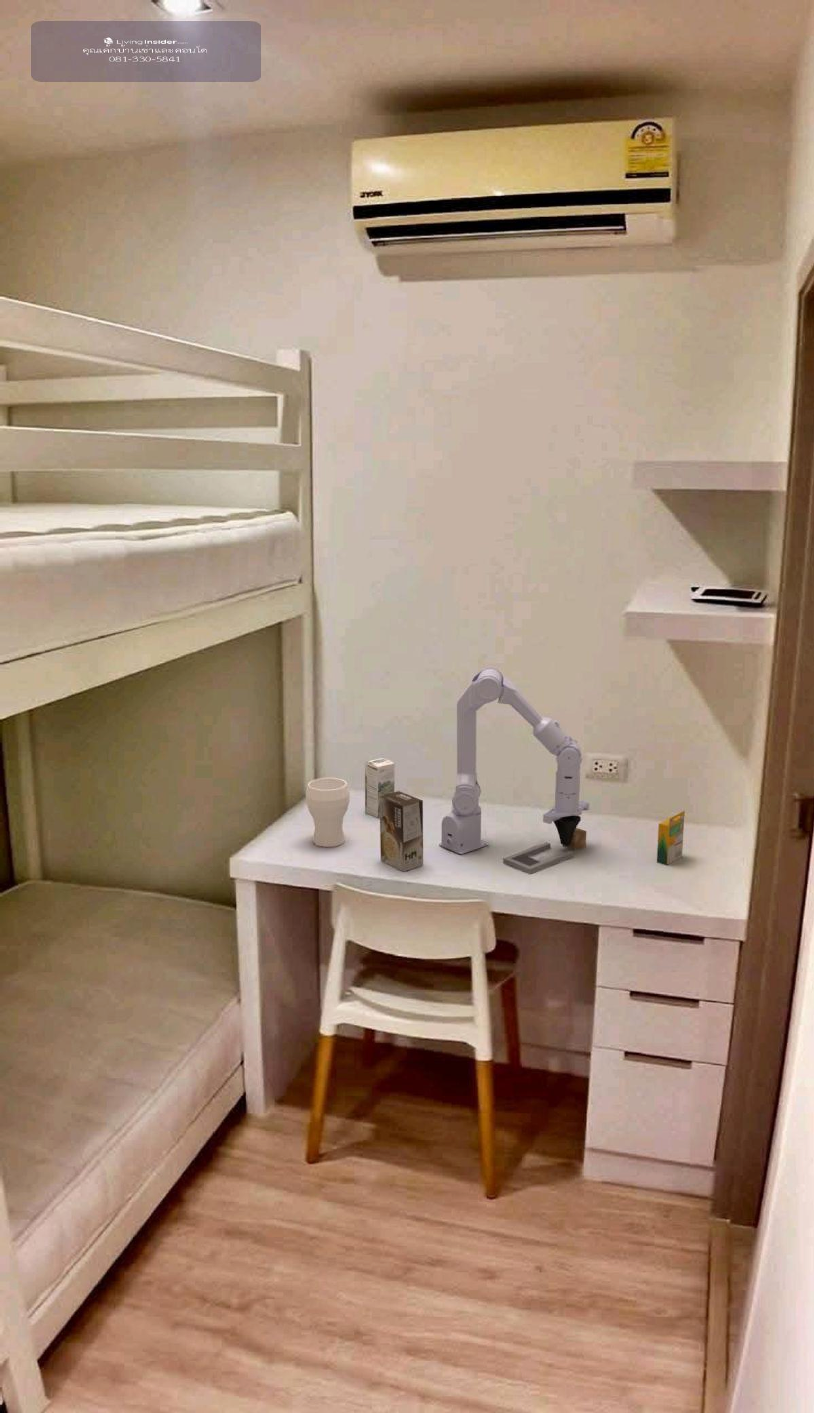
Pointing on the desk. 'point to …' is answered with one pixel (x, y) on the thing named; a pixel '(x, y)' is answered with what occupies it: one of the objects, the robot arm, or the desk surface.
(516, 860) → the guide channel
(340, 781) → the cup
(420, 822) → the coffee box
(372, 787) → the syrup box
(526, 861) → the pad
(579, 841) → the walnut block
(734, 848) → the desk surface
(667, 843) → the crayon box
